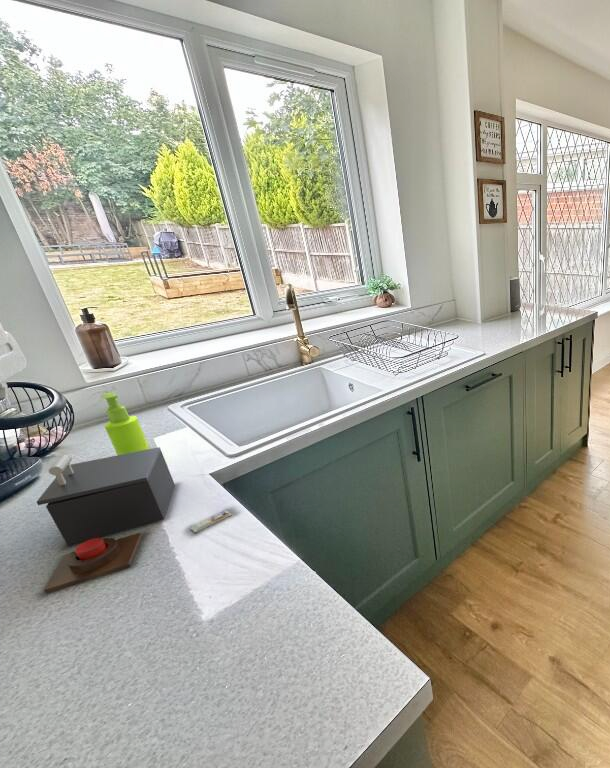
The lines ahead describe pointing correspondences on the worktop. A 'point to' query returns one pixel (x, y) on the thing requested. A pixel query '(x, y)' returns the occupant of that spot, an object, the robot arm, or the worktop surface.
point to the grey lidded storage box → (114, 507)
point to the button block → (95, 563)
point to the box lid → (98, 474)
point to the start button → (90, 548)
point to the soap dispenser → (123, 428)
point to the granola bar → (210, 521)
